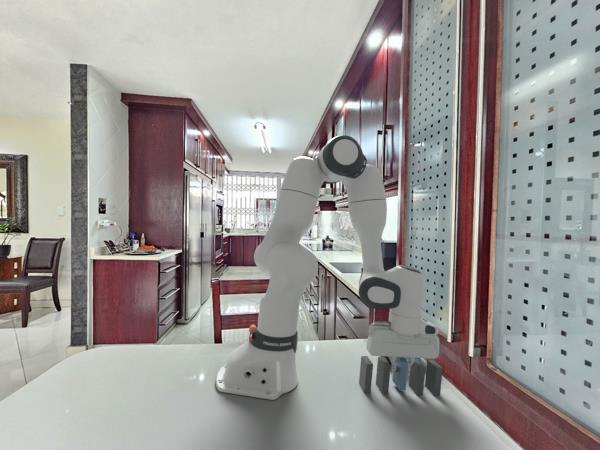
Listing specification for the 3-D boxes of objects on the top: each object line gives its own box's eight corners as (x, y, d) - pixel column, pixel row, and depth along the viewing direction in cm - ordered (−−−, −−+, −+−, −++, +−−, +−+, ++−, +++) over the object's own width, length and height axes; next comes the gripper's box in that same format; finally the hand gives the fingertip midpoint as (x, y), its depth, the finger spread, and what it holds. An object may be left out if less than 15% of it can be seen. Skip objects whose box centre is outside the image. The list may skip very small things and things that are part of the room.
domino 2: (381, 393, 80) (384, 365, 80) (375, 383, 85) (378, 356, 85) (388, 394, 80) (390, 365, 80) (381, 384, 85) (384, 356, 85)
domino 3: (399, 390, 81) (402, 361, 81) (392, 380, 86) (394, 353, 86) (405, 390, 81) (408, 362, 81) (398, 380, 86) (400, 353, 86)
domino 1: (364, 393, 80) (366, 364, 80) (358, 383, 85) (361, 355, 85) (370, 393, 80) (373, 364, 80) (364, 383, 85) (367, 356, 85)
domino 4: (416, 395, 81) (419, 366, 81) (408, 385, 86) (411, 358, 86) (422, 395, 81) (425, 367, 81) (414, 385, 86) (416, 358, 86)
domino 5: (433, 396, 81) (436, 367, 81) (424, 386, 86) (427, 359, 86) (440, 396, 81) (442, 368, 81) (430, 386, 86) (433, 359, 86)
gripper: (373, 324, 79) (368, 375, 79) (444, 329, 81) (440, 378, 81) (365, 317, 85) (361, 364, 85) (432, 321, 87) (428, 367, 87)
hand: (400, 371), depth 83 cm, fingers closed on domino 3, 2 cm apart
